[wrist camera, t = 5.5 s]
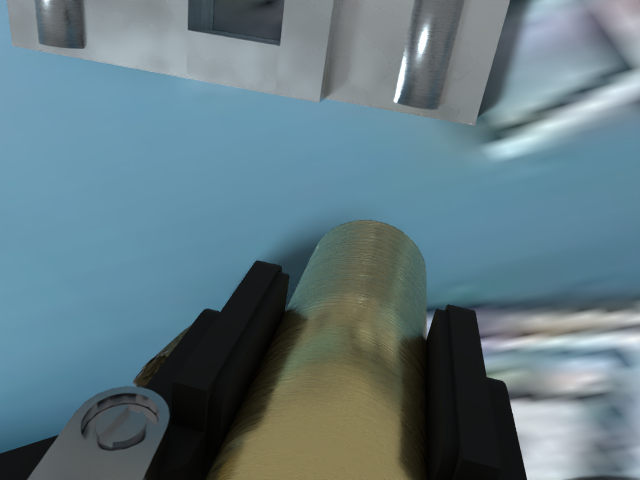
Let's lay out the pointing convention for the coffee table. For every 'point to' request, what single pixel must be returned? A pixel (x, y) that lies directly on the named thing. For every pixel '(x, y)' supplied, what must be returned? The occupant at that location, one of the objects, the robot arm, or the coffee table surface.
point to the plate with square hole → (290, 47)
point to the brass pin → (341, 370)
